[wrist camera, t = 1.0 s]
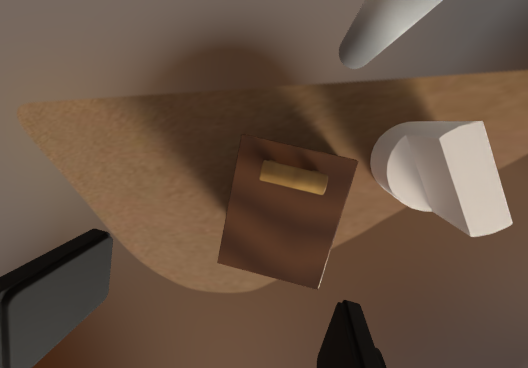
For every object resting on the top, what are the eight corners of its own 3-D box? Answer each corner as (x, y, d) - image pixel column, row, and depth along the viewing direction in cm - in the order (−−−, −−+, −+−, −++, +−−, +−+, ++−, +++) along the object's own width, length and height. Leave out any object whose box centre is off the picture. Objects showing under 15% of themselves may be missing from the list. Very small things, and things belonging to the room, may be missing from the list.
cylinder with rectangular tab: (459, 178, 31) (557, 213, 19) (384, 205, 32) (432, 251, 21) (436, 107, 29) (528, 98, 18) (359, 140, 31) (396, 151, 19)
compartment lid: (243, 133, 24) (228, 136, 19) (356, 159, 23) (373, 170, 18) (219, 259, 27) (201, 290, 22) (317, 285, 26) (322, 323, 21)
